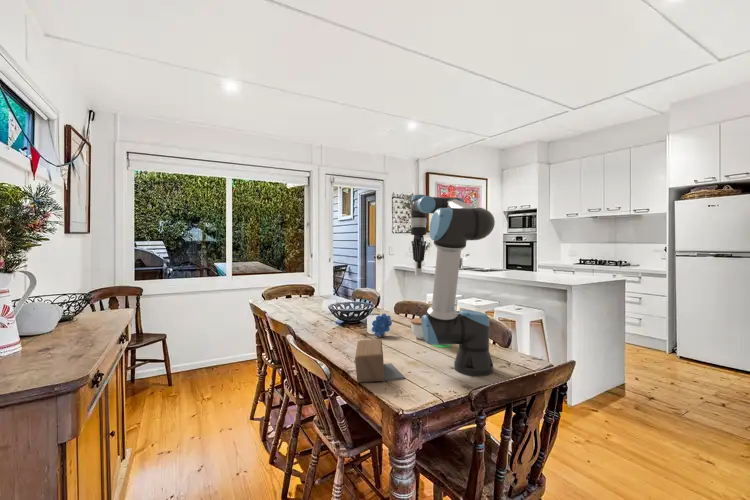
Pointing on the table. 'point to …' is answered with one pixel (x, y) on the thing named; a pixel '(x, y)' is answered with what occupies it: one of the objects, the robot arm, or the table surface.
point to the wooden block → (369, 360)
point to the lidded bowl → (417, 328)
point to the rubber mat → (391, 373)
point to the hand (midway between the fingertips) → (418, 275)
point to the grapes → (381, 324)
